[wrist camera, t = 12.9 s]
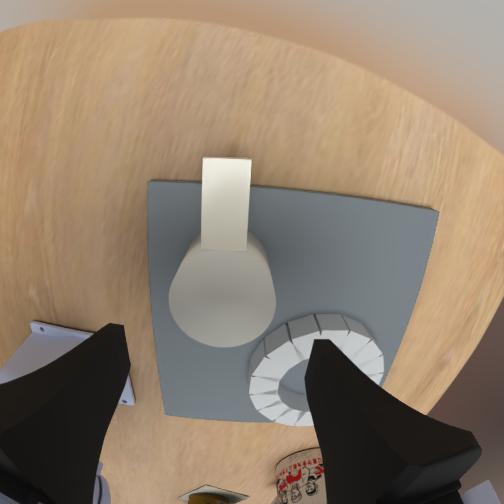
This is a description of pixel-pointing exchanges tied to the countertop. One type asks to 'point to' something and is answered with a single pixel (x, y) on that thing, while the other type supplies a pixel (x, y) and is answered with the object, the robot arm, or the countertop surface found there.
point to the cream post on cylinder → (224, 264)
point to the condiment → (212, 496)
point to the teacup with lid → (301, 479)
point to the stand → (289, 296)
